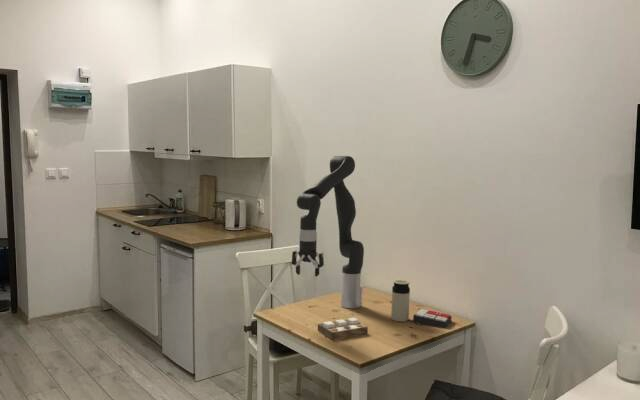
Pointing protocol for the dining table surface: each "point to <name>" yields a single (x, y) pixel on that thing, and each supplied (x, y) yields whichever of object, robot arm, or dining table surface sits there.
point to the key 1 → (328, 325)
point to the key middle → (340, 323)
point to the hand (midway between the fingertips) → (307, 275)
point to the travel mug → (400, 300)
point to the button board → (343, 331)
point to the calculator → (432, 318)
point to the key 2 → (352, 321)
